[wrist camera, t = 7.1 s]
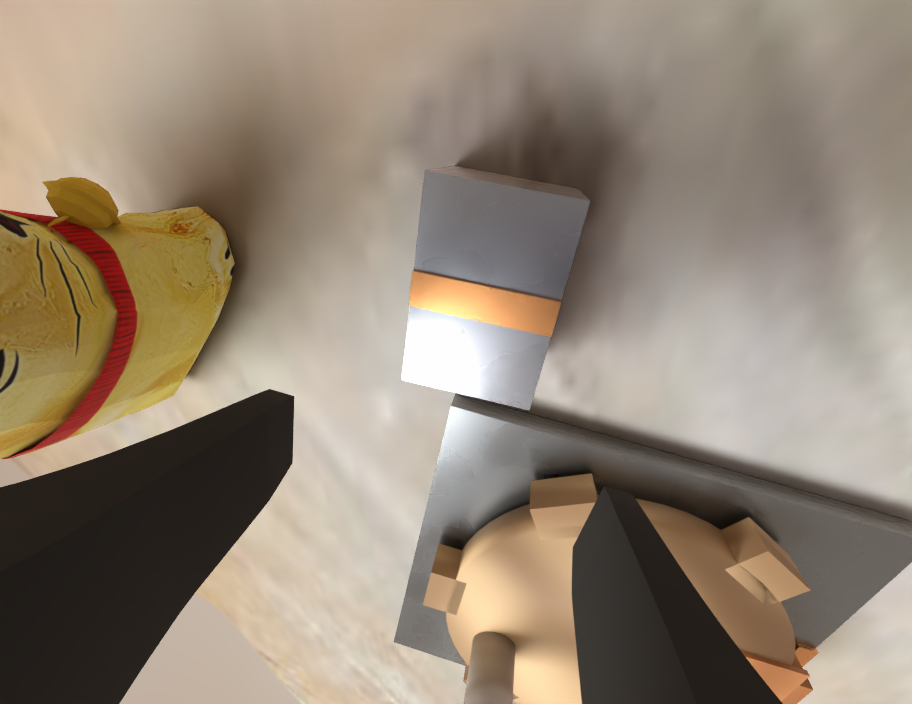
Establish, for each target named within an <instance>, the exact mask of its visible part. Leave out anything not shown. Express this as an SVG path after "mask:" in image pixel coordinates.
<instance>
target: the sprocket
mask: <svg viewBox="0 0 912 704" xmlns="http://www.w3.org/2000/svg"><path fill="white" fill-rule="evenodd" d="M598 497H599V495H597V491H596V488H595V484H594V480H593V476H592V473H591V474H583V475H575V476H567V477H559V478H551V479H543V480H535V481H531V484H530V504H528V505H525V506H522V507H519V508H517V509H514V510H512V511H509V512H507V513H505V514H503V515H501V516H500V517H498V518H496V519H494V520H492V521H491V522H489V523H488V524H487V525H485V526H484V527H483V528H482V529H480V530H479V531H478V532H477V533H476V534H475V535H474V536H473V537H472V538H471V539H470V540H469V541H468V542H467V544H466V545H465V547H464V548H463V550H459V549H456V548H452V547H449V546H446V545H442V544H439V545H438V548H437V552H436V556H435V560H434V563H433V567H432V571H431V575H430V579H429V583H428V587H427V590H426V594H425V598H424V602H423V605H425V606H428V607H431V608H434V609H437V610H440V611H444V612H446V621H447V625H448V630H449V634H450V636H451V639H452V641H453V643H454V646H455V647H456V649H457V651H458V652H459V654H460V655H461V657H462V658H463V659H464V661H465V662H466V667H465V674H464V681H463V682H465V683H466V691H465V698H464V704H512V702H513V701H515V702H517V703H519V704H582V699H581V689H580V679H579V669H578V659H577V648H576V638H575V628H574V617H573V606H572V553H573V546H574V544H575V542H576V540H577V538H578V536H579V534H580V532H581V530H582V528H583V526H584V524H585V522H586V520H587V518H588V516H589V514H590V512H591V510H592V508H593V506H594V504H595V502H596V500H597V499H598ZM636 500H637V502H638V503H639V505H640V506H641V508H642V509H643V511H644V512H645V514H646V515H647V517H648V518H649V520H650V521H651V523H652V524H653V526H654V528H655V529H656V531H657V532H658V534H659V535H660V537H661V538H662V540H663V541H664V543H665V544H666V546H667V547H668V549H669V550H670V552H671V553H672V555H673V556H674V558H675V559H676V561H677V562H678V564H679V565H680V567H681V568H682V570H683V571H684V573H685V574H686V576H687V577H688V579H689V580H690V582H691V583H692V584H693V586H694V587H695V589H696V590H697V592H698V593H699V594H700V596H701V597H702V599H703V600H704V602H705V603H706V604H707V606H708V607H709V609H710V610H711V611H712V613H713V614H714V616H715V617H716V618H717V620H718V621H719V622H720V624H721V625H722V626H723V628H724V629H725V630H726V632H727V633H728V634H729V636H730V637H731V638H732V640H733V641H734V642H735V644H736V645H737V646H738V648H739V649H740V650H741V652H742V653H743V654H744V656H745V657H746V658H747V660H748V661H749V662H750V664H751V665H752V666H753V667H754V669H755V670H756V671H757V672H758V674H759V675H760V676H761V677H762V679H763V680H764V681H765V682H766V684H767V685H768V686H769V687H770V689H771V690H772V691H773V692H774V693H775V695H776V696H777V697H778V698H779V699H780V701H781V702H782V703H783V704H797V703H798V702H799V701H801V700H802V699H803V698H804V697H805V696H806V695H808V694H809V693H810V692H811V691H812V690H813V688H812V686H811V684H810V682H809V680H808V677H809V674H808V672H807V670H804V669H803V668H802V666H801V664H800V662H799V660H798V658H797V656H796V654H795V644H796V643H795V637H794V631H793V627H792V625H791V622H790V620H789V617H788V615H787V613H786V611H785V609H784V607H783V605H782V603H781V601H783V600H786V599H789V598H791V597H794V596H797V595H800V594H802V593H805V592H808V591H810V588H809V587H808V585H807V583H806V582H805V580H804V579H803V577H802V575H801V574H800V572H799V570H798V569H797V567H796V565H795V564H794V562H793V561H792V559H791V557H790V556H789V554H788V553H787V552H786V551H785V550H784V549H783V548H782V547H781V546H779V545H778V544H777V543H776V542H775V541H774V540H773V539H772V538H771V537H770V536H769V535H768V534H767V533H766V532H764V531H763V530H762V529H761V528H760V527H759V526H758V525H757V524H756V523H755V522H754V521H753V520H752V519H751V518H749V517H748V518H745V519H743V520H741V521H739V522H737V523H735V524H733V525H731V526H729V527H726V528H724V529H722V530H720V529H719V528H717V527H715V526H714V525H712V524H710V523H709V522H707V521H705V520H702V519H700V518H698V517H696V516H694V515H691V514H689V513H687V512H684V511H681V510H678V509H675V508H672V507H669V506H666V505H663V504H659V503H654V502H650V501H645V500H641V499H636Z"/></svg>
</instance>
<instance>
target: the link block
mask: <svg viewBox="0 0 912 704" xmlns="http://www.w3.org/2000/svg"><path fill="white" fill-rule="evenodd" d="M589 205H590V200H589V199H588V198H587V197H586V196H585V195H584V194H583V193H582V192H581V191H580V190H579V189H578V188H573V187H568V186H562V185H557V184H551V183H546V182H540V181H535V180H530V179H524V178H519V177H513V176H508V175H502V174H497V173H492V172H486V171H481V170H475V169H470V168H464V167H459V166H450V167H443V168H437V169H430V170H425V174H424V183H423V192H422V201H421V210H420V219H419V227H418V236H417V245H416V254H415V263H414V270H413V272H412V281H411V290H410V299H409V306H410V307H409V316H408V325H407V334H406V343H405V352H404V360H403V369H402V378H401V380H403V381H408V382H412V383H416V384H420V385H424V386H428V387H433V388H437V389H441V390H445V391H449V392H454V393H458V394H462V395H466V396H470V397H475V398H479V399H483V400H487V401H491V402H496V403H500V404H504V405H508V406H512V407H517V408H521V409H525V410H529V411H530V407H531V404H532V400H533V397H534V394H535V390H536V387H537V383H538V380H539V376H540V373H541V370H542V366H543V363H544V359H545V356H546V352H547V349H548V345H549V342H550V339H551V337H552V333H553V330H554V327H555V323H556V320H557V316H558V313H559V309H560V306H561V301H562V297H563V294H564V290H565V287H566V284H567V280H568V277H569V273H570V270H571V266H572V263H573V260H574V256H575V253H576V249H577V246H578V242H579V239H580V235H581V232H582V229H583V225H584V222H585V218H586V215H587V211H588V208H589Z"/></svg>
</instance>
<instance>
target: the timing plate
mask: <svg viewBox="0 0 912 704" xmlns="http://www.w3.org/2000/svg"><path fill="white" fill-rule="evenodd" d="M591 473H592V476H593V480H594V484H595V488H596V491H597V495H600V493H601V491H602V489H603V487H604V486H607V487H610V488H613V489H617V490H620V491H624V492H627V493H631V494H632V495H633V496H634V497H635V499H641V500H645V501H650V502H654V503H659V504H663V505H666V506H669V507H672V508H675V509H678V510H681V511H684V512H687V513H689V514H691V515H694V516H696V517H698V518H700V519H702V520H705V521H707V522H709V523H710V524H712V525H714V526H715V527H717V528H719V529H720V530H722V529H724V528H726V527H729V526H731V525H733V524H735V523H737V522H739V521H741V520H743V519H745V518H748V517H749V518H751V519H752V520H753V521H754V522H755V523H756V524H757V525H758V526H759V527H760V528H761V529H762V530H763V531H764V532H766V533H767V534H768V535H769V536H770V537H771V538H772V539H773V540H774V541H775V542H776V543H777V544H778V545H779V546H781V547H782V548H783V549H784V550H785V551H786V552H787V553H788V554H789V556H790V557H791V559H792V561H793V562H794V564H795V565H796V567H797V569H798V570H799V572H800V574H801V575H802V577H803V579H804V580H805V582H806V583H807V585H808V587H809V588H810V591H808V592H805V593H802V594H800V595H797V596H794V597H791V598H789V599H786V600H783V601H781V603H782V605H783V607H784V609H785V611H786V613H787V615H788V617H789V620H790V622H791V625H792V627H793V631H794V637H795V643H796V644H795V654H796V656H797V658H798V660H799V662H800V664H801V666H802V667H803V666H804V665H805V664H806V663H807V662H809V661H810V660H811V659H812V658H813V657H814V656H815V655H817V654H818V651H817V649H816V647H817V646H818V645H820V644H821V643H822V642H823V641H824V640H825V639H826V638H827V637H829V636H830V635H831V634H832V633H833V632H834V631H835V630H836V629H837V628H839V627H840V626H841V625H842V624H843V623H844V622H845V621H846V620H847V619H849V618H850V617H851V616H852V615H853V614H854V613H855V612H856V611H858V610H859V609H860V608H861V607H862V606H863V605H864V604H865V603H866V602H868V601H869V600H870V599H871V598H872V597H873V596H874V595H875V594H877V593H878V592H879V591H880V590H881V589H882V588H883V587H884V586H885V585H887V584H888V583H889V582H890V581H891V580H892V579H893V578H894V577H896V576H897V575H898V574H899V573H900V572H901V571H902V570H903V569H904V568H906V567H907V566H908V565H909V564H910V563H911V562H912V522H911V521H909V520H905V519H902V518H898V517H894V516H891V515H887V514H884V513H880V512H877V511H873V510H870V509H866V508H862V507H859V506H855V505H852V504H848V503H845V502H841V501H838V500H834V499H831V498H827V497H823V496H820V495H816V494H813V493H809V492H806V491H802V490H799V489H795V488H792V487H788V486H784V485H781V484H777V483H774V482H770V481H767V480H763V479H760V478H756V477H752V476H749V475H745V474H742V473H738V472H735V471H731V470H728V469H724V468H721V467H717V466H713V465H710V464H706V463H703V462H699V461H696V460H692V459H689V458H685V457H682V456H678V455H674V454H671V453H667V452H664V451H660V450H657V449H653V448H650V447H646V446H642V445H639V444H635V443H632V442H628V441H625V440H621V439H618V438H614V437H611V436H607V435H603V434H600V433H596V432H593V431H589V430H586V429H582V428H579V427H575V426H571V425H568V424H564V423H561V422H557V421H554V420H550V419H547V418H543V417H540V416H536V415H532V414H529V413H525V412H522V411H518V410H515V409H511V408H508V407H504V406H501V405H497V404H493V403H490V402H486V401H483V400H479V399H476V398H472V397H469V396H465V395H461V394H458V393H456V394H455V396H454V399H453V402H452V405H451V408H450V412H449V416H448V420H447V425H446V429H445V433H444V437H443V441H442V445H441V449H440V453H439V458H438V462H437V466H436V470H435V474H434V478H433V482H432V486H431V491H430V495H429V499H428V503H427V507H426V511H425V515H424V519H423V524H422V528H421V532H420V536H419V540H418V544H417V548H416V552H415V557H414V561H413V565H412V569H411V573H410V577H409V581H408V585H407V590H406V594H405V598H404V602H403V606H402V610H401V614H400V618H399V623H398V627H397V631H396V635H395V639H394V642H396V643H399V644H402V645H405V646H408V647H411V648H414V649H417V650H420V651H423V652H426V653H429V654H432V655H435V656H438V657H441V658H444V659H447V660H450V661H453V662H456V663H459V664H462V665H465V666H466V662H465V661H464V659H463V658H462V657H461V655H460V654H459V652H458V651H457V649H456V647H455V646H454V643H453V641H452V639H451V636H450V634H449V630H448V625H447V621H446V612H444V611H440V610H437V609H434V608H431V607H428V606H425V605H423V602H424V598H425V594H426V590H427V587H428V583H429V579H430V575H431V571H432V567H433V563H434V560H435V556H436V552H437V548H438V545H439V544H442V545H446V546H449V547H452V548H456V549H459V550H463V548H464V547H465V545H466V544H467V542H468V541H469V540H470V539H471V538H472V537H473V536H474V535H475V534H476V533H477V532H478V531H479V530H480V529H482V528H483V527H484V526H485V525H487V524H488V523H489V522H491V521H492V520H494V519H496V518H498V517H500V516H501V515H503V514H505V513H507V512H509V511H512V510H514V509H517V508H519V507H522V506H525V505H528V504H530V484H531V481H535V480H543V479H551V478H559V477H567V476H575V475H583V474H591Z"/></svg>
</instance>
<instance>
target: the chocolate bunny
mask: <svg viewBox="0 0 912 704" xmlns="http://www.w3.org/2000/svg"><path fill="white" fill-rule="evenodd" d="M43 183H44V185H45V186H46V187H47V189H48V190H49V191H48V193H47V196H46V198H47V200H48V201H49V203H50V205H51V207H52V208H53V210H54V212H55V213H56V214H57V215H58V217H52V216H43V215H35V214H27V213H20V212H14V211H7V210H0V458H2V459H8V458H13V457H16V456H19V455H23V454H26V453H30V452H33V451H36V450H38V449H41V448H44V447H46V446H49V445H52V444H54V443H57V442H60V441H62V440H65V439H68V438H70V437H73V436H76V435H78V434H81V433H84V432H86V431H89V430H92V429H94V428H97V427H99V426H102V425H105V424H107V423H110V422H112V421H114V420H116V419H119V418H121V417H123V416H125V415H128V414H131V413H135V412H137V411H140V410H142V409H145V408H147V407H150V406H152V405H154V404H156V403H158V402H160V401H163V400H165V399H167V398H169V397H171V396H173V395H174V393H175V392H176V390H177V389H178V387H179V386H180V384H181V383H182V381H183V380H184V378H185V376H186V375H187V373H188V372H189V370H190V369H191V367H192V365H193V363H194V362H195V360H196V358H197V356H198V354H199V353H200V351H201V349H202V347H203V345H204V343H205V342H206V340H207V338H208V336H209V334H210V332H211V331H212V329H213V327H214V325H215V323H216V321H217V320H218V317H219V315H220V312H221V310H222V307H223V304H224V302H225V299H226V297H227V294H228V292H229V289H230V285H231V280H232V276H233V271H234V267H235V262H234V259H233V256H232V252H231V249H230V246H229V242H228V239H227V236H226V232H225V230H224V229H223V228H222V226H221V225H220V224H219V223H218V222H217V221H215V220H214V219H213V218H212V217H210V216H209V215H208V214H207V213H206V212H204V211H203V210H202V209H201V208H199V207H198V206H196V207H187V208H178V209H169V210H163V211H159V212H154V213H125V214H123V215H121V216H119V217H117V216H118V209H117V207H116V205H115V203H114V201H113V199H112V197H111V196H110V194H109V192H108V191H107V190H105V189H104V188H102V187H101V186H100V185H98V184H97V183H94V182H92V181H90V180H87V179H85V178H74V177H69V178H60V179H59V180H56V181H46V182H43Z"/></svg>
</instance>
